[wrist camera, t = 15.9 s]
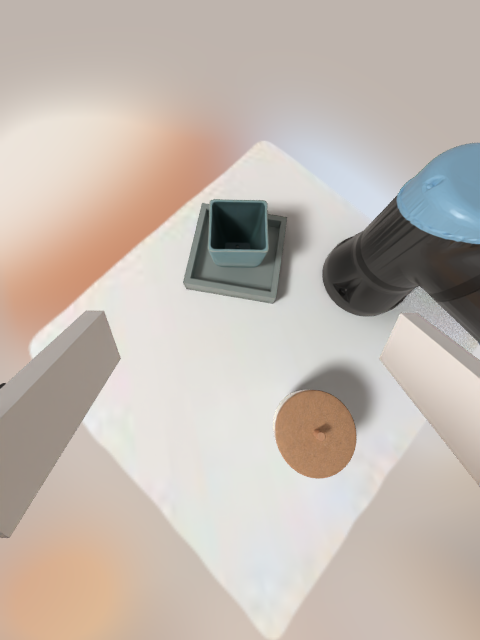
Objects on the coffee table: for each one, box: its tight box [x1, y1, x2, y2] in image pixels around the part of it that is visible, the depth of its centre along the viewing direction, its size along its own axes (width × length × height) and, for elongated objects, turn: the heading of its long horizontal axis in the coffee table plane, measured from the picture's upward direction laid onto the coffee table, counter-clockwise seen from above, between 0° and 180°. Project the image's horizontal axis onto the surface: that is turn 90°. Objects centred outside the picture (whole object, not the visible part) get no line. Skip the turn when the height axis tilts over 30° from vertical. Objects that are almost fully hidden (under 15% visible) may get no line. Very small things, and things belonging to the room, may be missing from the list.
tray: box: [183, 203, 287, 304], centre depth 42 cm, size 16×16×3 cm
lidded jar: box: [273, 390, 356, 478], centre depth 33 cm, size 11×11×9 cm
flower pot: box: [208, 199, 269, 268], centre depth 38 cm, size 9×9×9 cm
